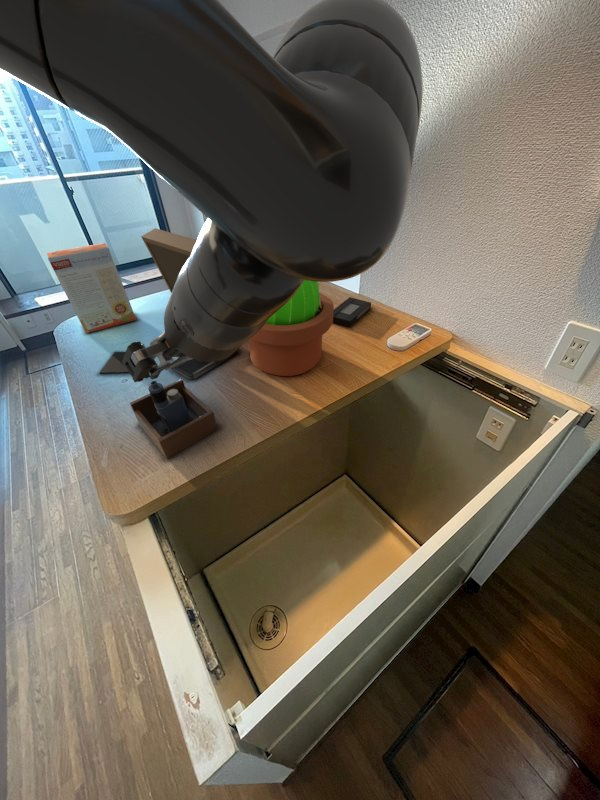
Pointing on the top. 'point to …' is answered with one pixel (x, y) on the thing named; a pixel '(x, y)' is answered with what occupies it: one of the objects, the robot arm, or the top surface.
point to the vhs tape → (350, 311)
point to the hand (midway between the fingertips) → (181, 357)
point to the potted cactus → (293, 333)
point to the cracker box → (92, 286)
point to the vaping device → (169, 406)
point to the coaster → (115, 364)
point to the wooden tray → (182, 435)
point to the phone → (197, 367)
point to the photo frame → (169, 253)
